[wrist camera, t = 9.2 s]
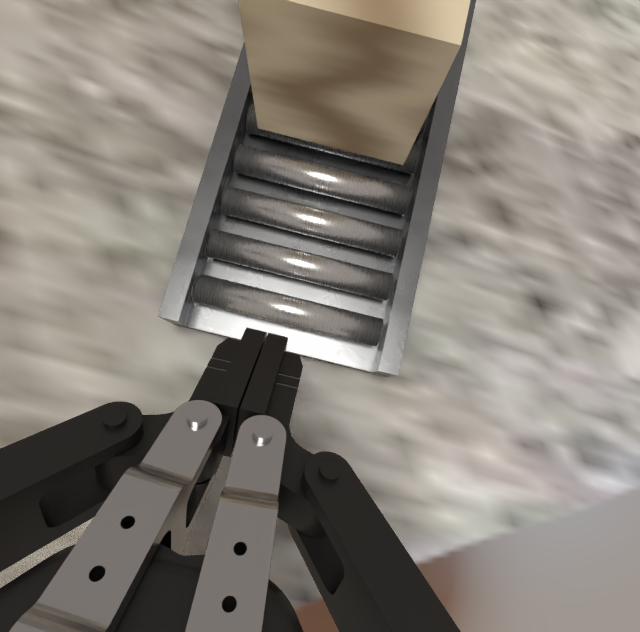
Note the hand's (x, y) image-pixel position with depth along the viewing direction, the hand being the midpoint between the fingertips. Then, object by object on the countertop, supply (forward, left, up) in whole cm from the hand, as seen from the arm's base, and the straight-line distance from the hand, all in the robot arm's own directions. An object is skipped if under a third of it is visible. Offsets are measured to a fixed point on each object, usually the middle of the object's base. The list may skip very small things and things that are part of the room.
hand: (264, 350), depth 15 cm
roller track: (0, +13, -8) cm, 15 cm away
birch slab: (0, +17, -6) cm, 18 cm away
